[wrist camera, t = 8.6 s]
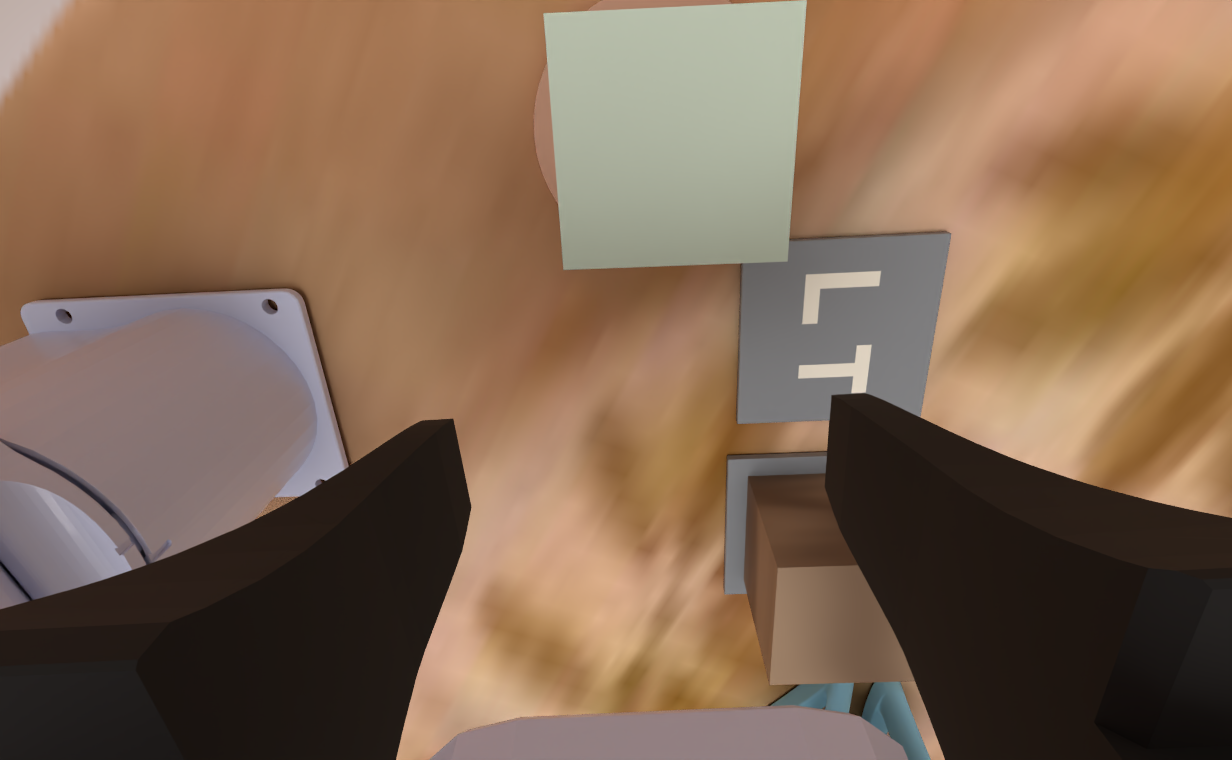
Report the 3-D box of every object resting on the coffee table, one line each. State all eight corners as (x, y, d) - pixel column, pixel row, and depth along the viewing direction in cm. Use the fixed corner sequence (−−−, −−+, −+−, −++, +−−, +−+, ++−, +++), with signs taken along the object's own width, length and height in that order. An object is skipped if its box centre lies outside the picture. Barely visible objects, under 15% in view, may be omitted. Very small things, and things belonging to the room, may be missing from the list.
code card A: (736, 419, 23) (737, 424, 22) (741, 241, 20) (743, 243, 20) (916, 412, 22) (920, 416, 22) (947, 231, 20) (951, 233, 20)
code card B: (723, 588, 26) (724, 594, 26) (726, 455, 23) (728, 459, 23) (881, 584, 26) (884, 589, 26) (902, 448, 23) (906, 453, 23)
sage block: (580, 221, 19) (563, 270, 14) (569, 40, 17) (543, 13, 12) (741, 215, 19) (787, 261, 14) (748, 31, 17) (806, 0, 12)
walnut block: (743, 579, 25) (769, 685, 21) (748, 476, 23) (777, 567, 19) (867, 575, 25) (920, 681, 21) (883, 471, 23) (946, 562, 19)
